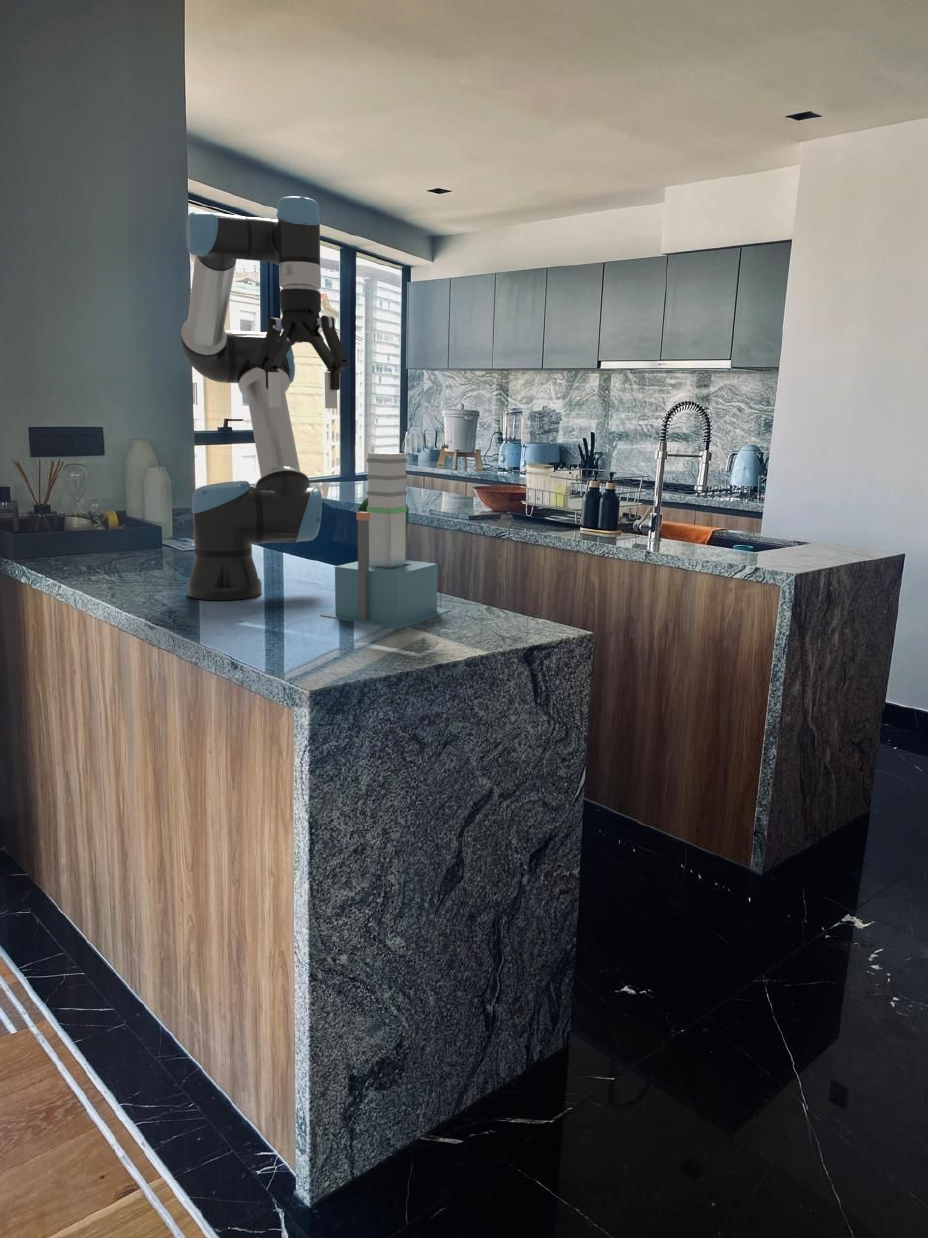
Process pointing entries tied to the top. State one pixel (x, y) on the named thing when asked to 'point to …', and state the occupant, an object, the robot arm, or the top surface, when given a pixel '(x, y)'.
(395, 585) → the stand base
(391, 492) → the column
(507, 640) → the top surface
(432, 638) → the top surface
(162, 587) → the top surface
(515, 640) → the top surface
